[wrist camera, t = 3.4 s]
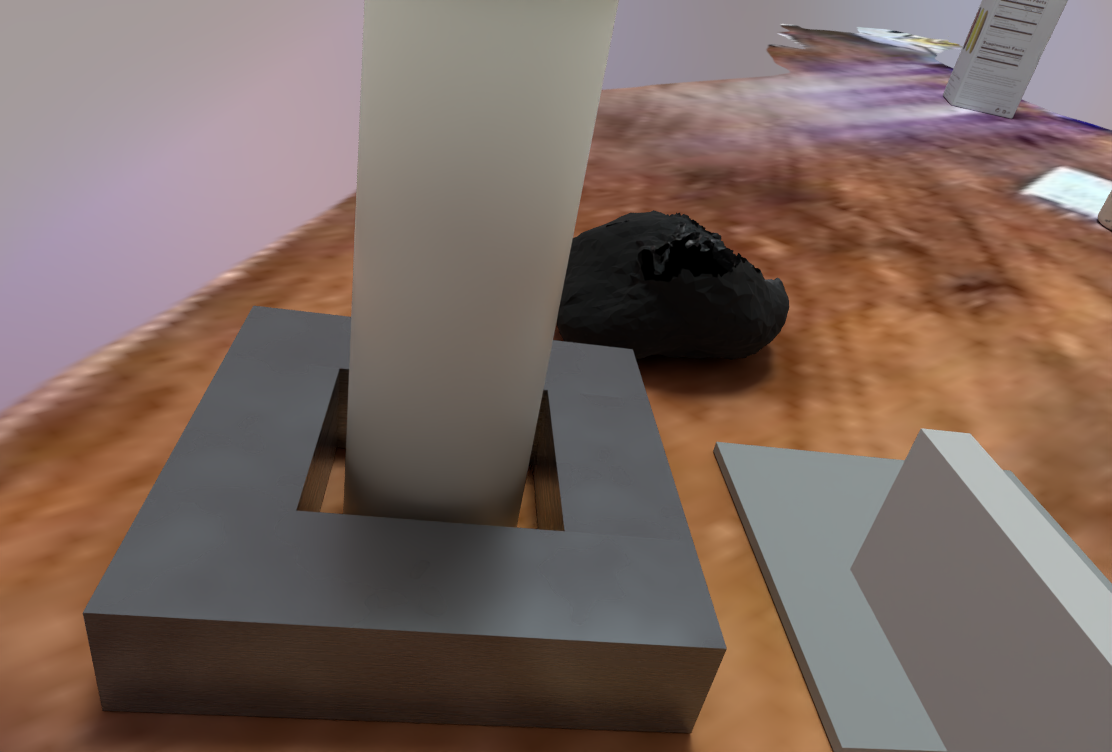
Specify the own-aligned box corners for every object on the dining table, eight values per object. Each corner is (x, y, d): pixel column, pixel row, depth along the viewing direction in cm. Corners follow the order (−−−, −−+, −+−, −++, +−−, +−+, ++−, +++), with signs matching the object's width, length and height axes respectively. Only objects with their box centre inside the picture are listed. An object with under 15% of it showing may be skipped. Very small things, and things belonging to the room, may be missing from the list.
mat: (1006, 478, 31) (1010, 470, 30) (1262, 772, 21) (1272, 763, 20) (713, 450, 29) (716, 441, 29) (836, 757, 19) (842, 747, 18)
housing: (615, 417, 30) (632, 349, 28) (690, 732, 19) (726, 648, 17) (255, 381, 28) (253, 306, 26) (102, 710, 17) (83, 612, 15)
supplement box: (941, 95, 127) (988, -19, 118) (999, 108, 126) (1052, -7, 117) (950, 105, 119) (1002, -17, 110) (1013, 119, 117) (1070, -3, 109)
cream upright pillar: (524, 470, 26) (629, -82, 18) (532, 605, 21) (683, -69, 13) (344, 454, 25) (368, -135, 17) (310, 592, 20) (320, -143, 12)
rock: (638, 465, 37) (498, 315, 39) (774, 336, 40) (638, 199, 41) (684, 424, 29) (500, 233, 30) (857, 262, 31) (679, 91, 32)
